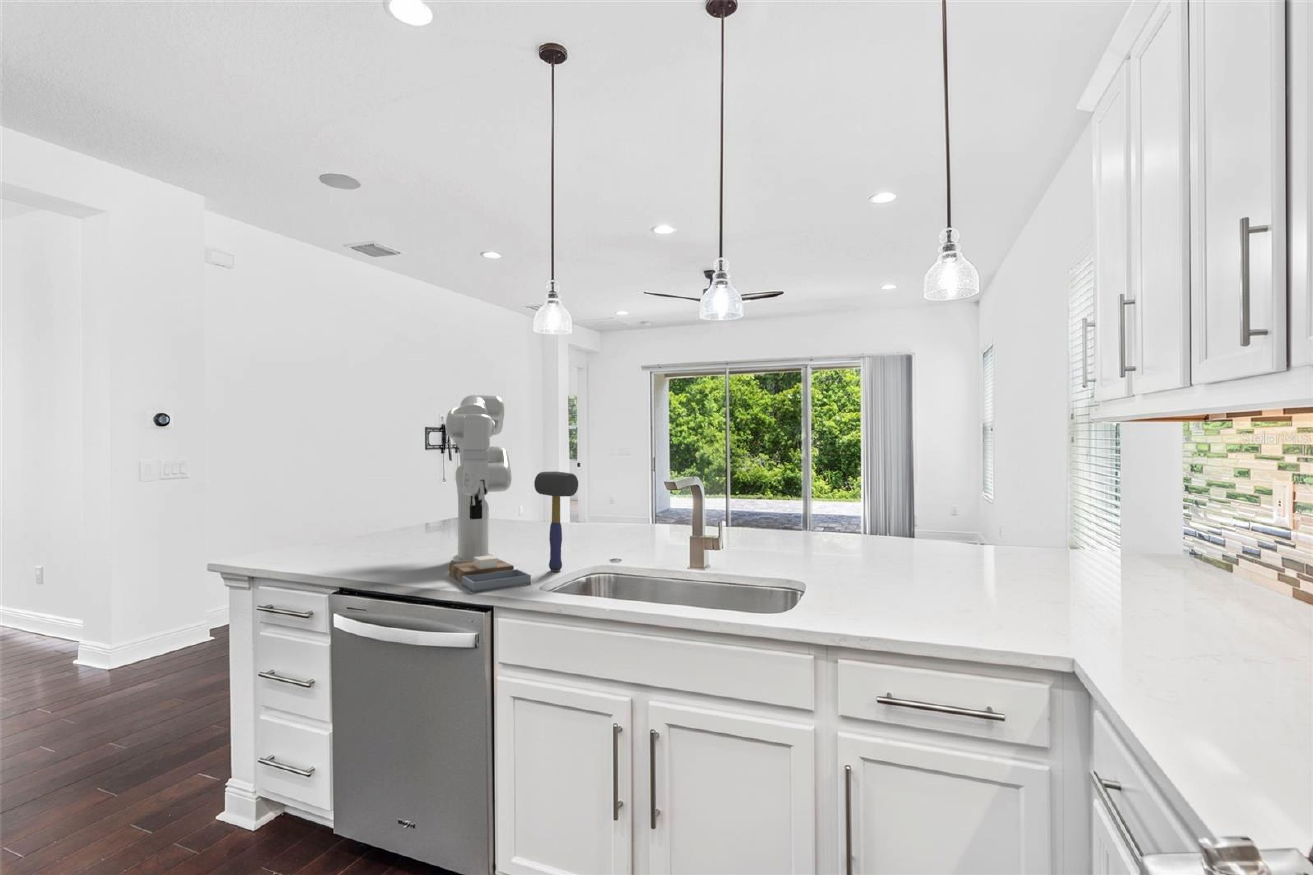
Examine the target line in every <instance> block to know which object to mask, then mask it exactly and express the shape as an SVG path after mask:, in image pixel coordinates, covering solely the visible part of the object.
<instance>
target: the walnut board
mask: <svg viewBox="0 0 1313 875" xmlns="http://www.w3.org/2000/svg"><path fill="white" fill-rule="evenodd" d="M448 566H449V568H448V569H449V570H448V572H449V573H448V574H449V576H450V577H452V578H453V577H454V578H453V579H455V580H457V581H458V582H460V583H461V584H462V576H468V575H476V574H484V573H492V572H499V571H507V570H515V569H514V565H513V564H511V563H508V562H506V561H504V560H501V559H499V558H497V567H493V568H485V569H479V568H477V567H475V566H474V560H473V561H464V562H450V563H449V565H448Z"/></svg>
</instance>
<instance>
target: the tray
mask: <svg viewBox="0 0 1313 875" xmlns="http://www.w3.org/2000/svg"><path fill="white" fill-rule="evenodd" d="M531 581H532V575H531V574H529V573H527V572H525V571H522V570H520V569H518V568H515V569H514V570H507V571H499V572H492V573H484V574H476V575H468V576H462V583H461V585H462V587H463V588H466V589H467V590H468V591H470V592H472V593H479V592H486V591H493V590H501V589H508V588H512V587H513V588H514V586H515V587H519V586H520V587H522V586H526V585H527V586H528V585H531V584H532V582H531Z"/></svg>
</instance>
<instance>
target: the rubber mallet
mask: <svg viewBox="0 0 1313 875" xmlns="http://www.w3.org/2000/svg"><path fill="white" fill-rule="evenodd" d="M533 485H534V489H535V491H536V493H538V494H539V495H544V496H550V497H551V522H550V526H549V527H550V528H549V539H548V540H549V546H550V550H549V551H550V553H549V556H550V557H549V562H548V567H549V570H550V571H551V572H554V573H556V572H560V571H561V569H562V567H563V562H562V541H563V531H562V523H561V497H572V496H574V495H575V494H576V493H577V491H578V489H579V480H578V477H577V476H576V475H575V474H574V473H569V472H564V471H563V472H562V471H541V472H539V473H538V474H537V475H536V476H535V479H534V484H533Z"/></svg>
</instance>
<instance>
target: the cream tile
mask: <svg viewBox="0 0 1313 875" xmlns="http://www.w3.org/2000/svg"><path fill="white" fill-rule="evenodd" d="M497 559H498V558H497V557H495V556H494V555H493V556H491V555H489V556H480V557H474V566H475V567H477V568H479V569H485V568H493V567H497Z"/></svg>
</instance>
